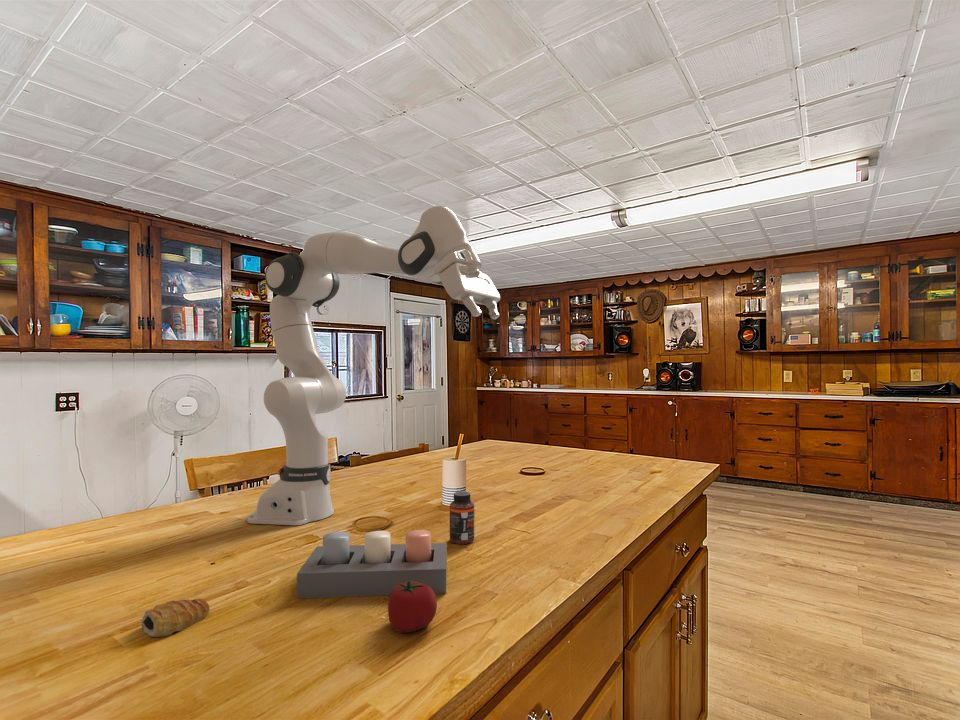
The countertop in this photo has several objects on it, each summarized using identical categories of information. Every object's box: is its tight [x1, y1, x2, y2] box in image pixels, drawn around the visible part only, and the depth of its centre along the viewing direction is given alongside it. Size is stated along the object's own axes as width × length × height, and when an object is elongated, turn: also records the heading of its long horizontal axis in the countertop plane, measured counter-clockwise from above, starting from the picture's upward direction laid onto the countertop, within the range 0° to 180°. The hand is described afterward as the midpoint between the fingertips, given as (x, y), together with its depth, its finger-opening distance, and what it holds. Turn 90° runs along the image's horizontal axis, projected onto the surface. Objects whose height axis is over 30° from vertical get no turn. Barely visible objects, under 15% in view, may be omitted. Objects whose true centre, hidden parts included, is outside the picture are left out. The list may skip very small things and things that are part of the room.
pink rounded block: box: [405, 529, 432, 562], centre depth 96 cm, size 5×5×6 cm
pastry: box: [140, 598, 210, 638], centre depth 80 cm, size 9×7×4 cm
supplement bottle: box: [449, 491, 475, 545], centre depth 116 cm, size 6×6×11 cm
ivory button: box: [363, 530, 391, 564], centre depth 95 cm, size 5×5×6 cm
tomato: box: [387, 581, 438, 634], centre depth 79 cm, size 8×8×7 cm
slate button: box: [322, 531, 350, 565], centre depth 95 cm, size 5×5×6 cm
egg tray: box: [296, 542, 448, 599], centre depth 95 cm, size 27×13×4 cm, turn 93°
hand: (487, 316), depth 112 cm, fingers open, 8 cm apart
